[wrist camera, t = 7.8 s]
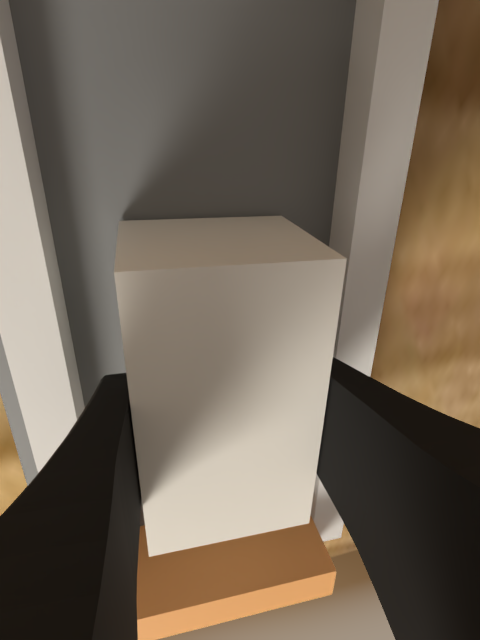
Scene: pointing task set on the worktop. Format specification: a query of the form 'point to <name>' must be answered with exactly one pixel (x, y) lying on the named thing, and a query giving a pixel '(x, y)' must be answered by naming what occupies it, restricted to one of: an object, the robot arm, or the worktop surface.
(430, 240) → the worktop surface
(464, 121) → the worktop surface
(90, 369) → the rail mount board
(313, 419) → the block
